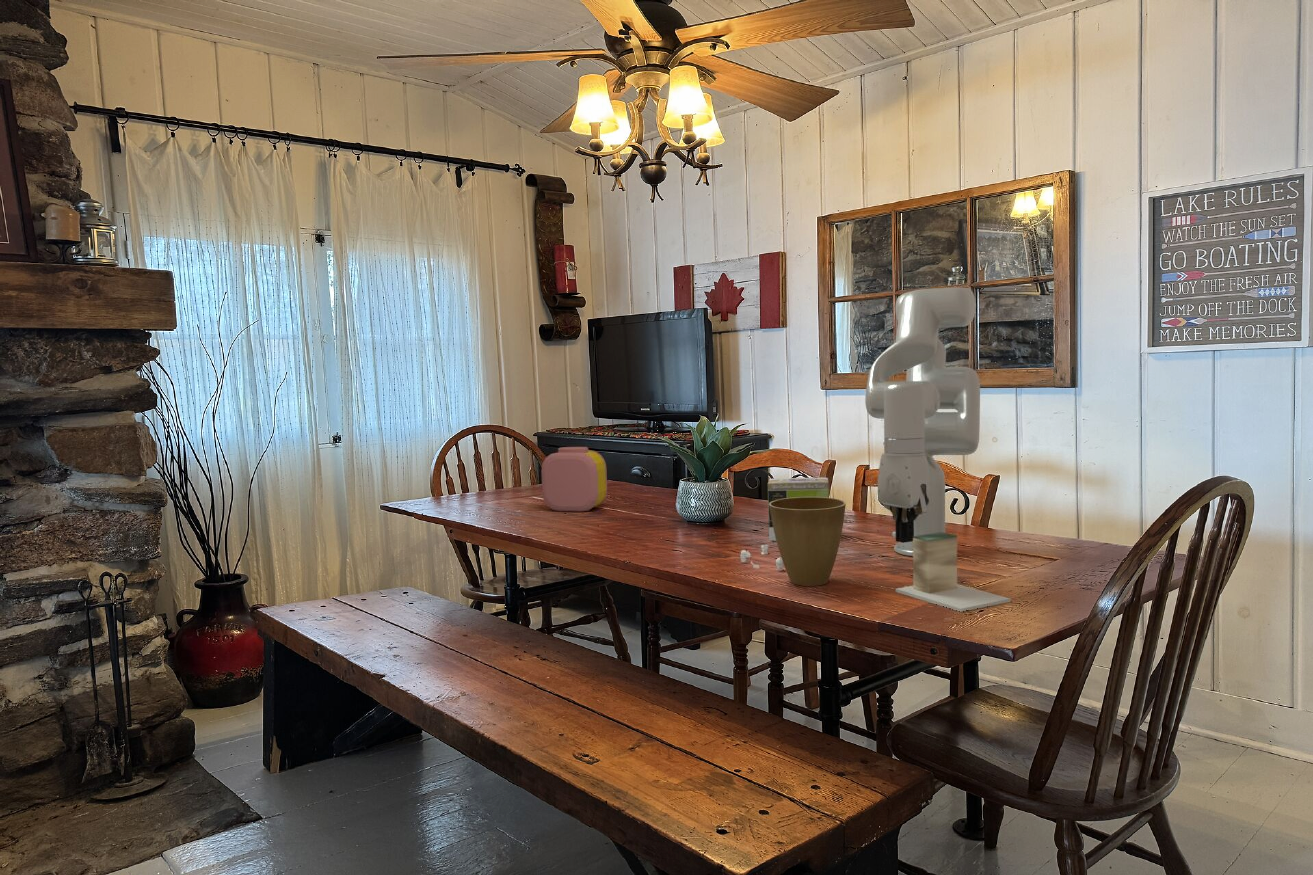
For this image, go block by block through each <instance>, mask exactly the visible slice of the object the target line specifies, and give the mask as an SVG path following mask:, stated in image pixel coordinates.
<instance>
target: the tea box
mask: <svg viewBox="0 0 1313 875" xmlns="http://www.w3.org/2000/svg"><path fill="white" fill-rule="evenodd" d="M794 497H827V498H830V482H829V477H827V476H826V477H825V476H823V477H787V478H786V477H785V478H769V479H768V482H767V506H768V538H769V542H771V541H773V542H774V541H775V542H777V541H776V537H775V533H774V529H773V524H772V518H771V513H770V507H769V503H770V502H772V501H775V500H779V499H785V498H794Z"/></svg>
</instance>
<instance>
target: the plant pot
mask: <svg viewBox="0 0 1313 875" xmlns="http://www.w3.org/2000/svg"><path fill="white" fill-rule="evenodd" d="M846 505H847V503H846V501H845V500H842V499H839V498H835V497H834V498H833V497H829V498H827V497H794V498H785V499H779V500H775V501H772V502H770V503H769V507H770V513H771V518H772V524H773V529H774V533H775V537H776V541H775V542H776V544H777V548H778V550H779V555H780V557H781V558H782V561H783V563H784V566H783V567H784V568H785V572H786V574H787V576H788V579H789V581H790V583H792V584H794V585H796V586H801V587H816V586H817V587H818V586H823V585H826V584H827V583H828V582H829V581H830V577H831V575H832V572H833V569H834V566H835V563H836V559H837V556H838V551H839V549H840V548H839V547H840V543H841V540H842V538H841V537H842V535H843V534H842V533H843V527H844V523H845V522H844V521H845V514H846Z"/></svg>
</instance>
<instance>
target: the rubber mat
mask: <svg viewBox="0 0 1313 875" xmlns="http://www.w3.org/2000/svg"><path fill="white" fill-rule="evenodd" d="M895 593H898V594H901V595H904V596H908V597H912V598H913V599H918V600H921V601H923V602H928V603H930V604H933V605H936V604H937V606H939V607H943V606H944V607H943V608H946V607H947V608H946V609H949V608H951V609H950V610H952V609H953V610H952V611H956V610H957V611H956V612H959V611H960V612H959V613H963V611H964V612H967V611H966V610H969V611H973V610H977V608H978V609H982V608H988V607H993V606H998V605H1002V604H1006V603H1010V602H1011V598H1010V597H1007V596H1006V597H1005V596H1004V595H1003V596H1002V595H998V594H995V593H992V592H988V591H984V590H980V589H977V588H973V587H970V586H967V585H962V584H958V583H957V589H951V590H946V591H941V592H935V593H930V594H928V593H925V592H922V591H918V590H915V589H913V585H909V586H903V587H898V588H895ZM987 606H988V607H987Z"/></svg>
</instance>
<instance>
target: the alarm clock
mask: <svg viewBox="0 0 1313 875" xmlns="http://www.w3.org/2000/svg"><path fill="white" fill-rule="evenodd" d="M540 472H541V493H542V498H543V501H544V503H545V504H546V505H547V507H549V508H550V509H551V510H553V511H557V512H574V513H575V512H576V513H577V512H581V513H583V512H589V511H590V510H592V508H596V507H598V506H600V505H602V504H603V503H604V501H605V499H606V497H607V494H608V478H607V474H608V473H607V463H606V461H605V459H604V457H603V455H601V454H600V453H599V452H598V451H595V450H590V449H589V448H588V447H587V446H564V447H563V446H562V447H559V448H557V452H555V453H550V454H549V455H548V456H546V457H545V459H544V460H543V461H542V464H541V470H540Z"/></svg>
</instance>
